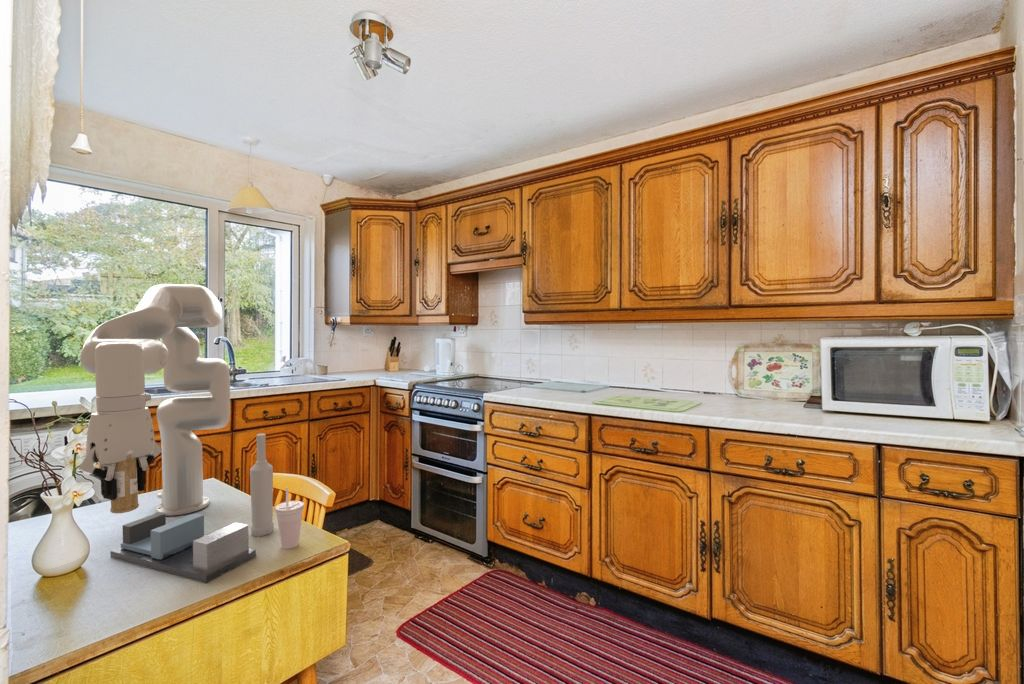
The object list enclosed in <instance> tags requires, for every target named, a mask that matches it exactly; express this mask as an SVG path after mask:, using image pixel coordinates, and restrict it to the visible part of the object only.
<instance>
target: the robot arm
mask: <svg viewBox="0 0 1024 684" xmlns="http://www.w3.org/2000/svg"><path fill="white" fill-rule="evenodd" d="M222 319H223V308H222V305H221V302H220V301H219V299H218V298H217V297H216V295H215V294H214V293H213V292H212V291H211V290H210V289H209V288H208V287H206V286H203V285H199V284H183V283H182V284H175V283H161V284H155V285H153V286H151V287H149V289H148V290H147V291H146V292H145V294H144V295H143V297H142V299H141V300H140V302H138V304H137V306H136V308H135V309H134V310H133V311H130V312H128V313H124V314H122V315H120V316H117V317H114V318H111V319H109V320H107V321H105V322H102V323H101V324H99V325H98V326H96V327H95V328H94V329H93V330H92V331H91V333H90V335H89V336H88V337H87V338H86V340H85V342H84V344H83V346H82V348H81V351H80V357H79V358H80V363H81V364H80V365H81V366H82V368H83V369H84V371H86V372H87V373H89V374H91V375H95V396H96V397H95V398H96V400H95V401H96V403H95V404H96V412H92V413H90V418H89V422H88V428H87V432H86V433H87V434H86V447H85V448H86V449H85V450H86V451H85V457H84V459H83V460H82V462H81V464H79V466H78V469H79V471H81V472H85V473H87V474H88V473H89V474H91V475H92V476H94V477H96V478H97V479H98V480H100V492H101V496H102V498H103V499H106V500H110V501H111V500H114V499H116V498H117V481H116V479H113V475H114V470H115V465H116V463H120V462H122V461H124V460H126V459H127V458H129V457H131V458H135V459H136V467H137V483H138V492H143V491H145V490H146V489H145V485H146V483H147V480H146V477H147V476H146V471H147V470H148V469H149V466H150V465H151V463H152V462H153V461H154V459H155V458H156V457H158V456H159V454H161V472H162V473H161V476H162V478H161V479H162V480H161V481H162V492H158V494H156V495H157V496H156V497H157V498H158V499H161V503H159V505H157V506H156V508H155V511H156V513H158V512H159V513H164V514H166V516H167V517H168V516H170V517H171V516H173V517H174V516H180V515H181V516H182V515H187V514H191V513H195V512H198V511H200V510H203V509H204V508H206V507H208V506H209V504H210V500H211V499H210V497H208V496H204V467H203V466H204V465H203V464H204V463H203V462H204V461H203V444H202V441H201V440H200V438H199V437H198V436H197V435H196V434H195V433H194V432H193V431H203V430H218V429H222V428H225V427H226V426H227V425H229V423H230V418H231V376H230V368H229V364H227V362H226V361H225V360H224V359H222V358H201V356H200V355H201V354H200V348H201V346H200V345H201V343H200V340H199V338H198V336H196V334H195V333H194V332H193V331H192V330H191V329H190V328H215V327H217V326H218V325H219V324H220V323H221V321H222ZM160 339H161V341H160ZM161 370H163V383H164V387H165V389H166V390H167V391H170V392H172V393H199V392H209V393H210V395H209V396H208V395H205V396H181V397H180V396H178V397H172V398H168V399H165V400H163V401H162V402H160V403H159V404H158V406H157V408H156V420H157V421H156V422H157V425H158V429H159V434H160V443H161V444H160V445H161V446H160V445H159V444H158V443H157V442H156V441H155V430H154V424H153V418H152V416H151V411H150V409H149V407H148V406H146V405H147V402H148V401H151V400H152V395H151V394H148V393H146V385H145V384H146V382H145V375H147V374H148V375H150V374H155V373H157V372H160V371H161ZM129 450H131V451H133V453H132V454H128V455H132V456H129V457H126V456H128V455H126V454H127V452H128V451H129ZM97 463H99V465H98V467H97V466H95V465H94V464H97ZM156 513H155V514H156Z"/></svg>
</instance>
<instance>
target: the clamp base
mask: <svg viewBox="0 0 1024 684" xmlns="http://www.w3.org/2000/svg"><path fill="white" fill-rule="evenodd" d="M249 536H250V535H249V524H245V523H241V522H233V523H230V524H228V525H226V526H223V527H221V528H219V529H217V530H215V531H212V532H211V533H208V534H204V536H203V537H201V538H199V539H196V540H194V541H193V545H192V546H190V547H188V548H186V549H183V550H181V551H179V552H177V553H175V554H172V555H170V556H168V557H166V558H163V559H161V560H160V559H156V558H152V557H151V555H147V554H143V553H139V552H135V551H131V550H127V549H123V548H121V546H120V547H117V548H114V549H111V550H110V551H109V552H110V555H109V556H110V558H111V559H115V560H118V561H123V562H127V563H131V564H133V565H136V566H137V565H138V566H141V567H145V568H147V569H148V568H149V569H153V570H156V571H159V572H163V573H167V574H170V575H175V576H178V577H182V578H186V579H190V580H193V581H197V582H200V583H205V584H207V583H209V582H212V581H213V580H215V579H217V578H219V577H221V576H222V575H224V574H226V573H228V572H230V571H231V570H234V569H235V568H237V567H240V566H241V565H242V564H243V565H244V564H245V563H246V562H248V561H250V560H253V558H256V557H257V550H256V549H253V548H250V547H249V546H250V543H249V541H250V540H249V539H250V537H249Z"/></svg>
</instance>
